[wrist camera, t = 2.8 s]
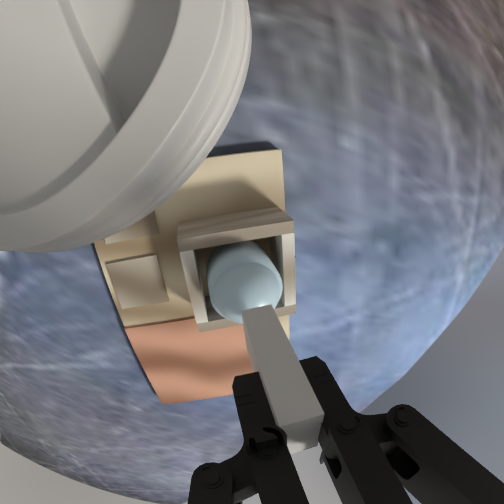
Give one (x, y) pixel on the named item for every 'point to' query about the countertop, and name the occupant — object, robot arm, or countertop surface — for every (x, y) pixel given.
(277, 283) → the dome
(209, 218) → the board
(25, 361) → the countertop surface
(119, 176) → the coffee cup
